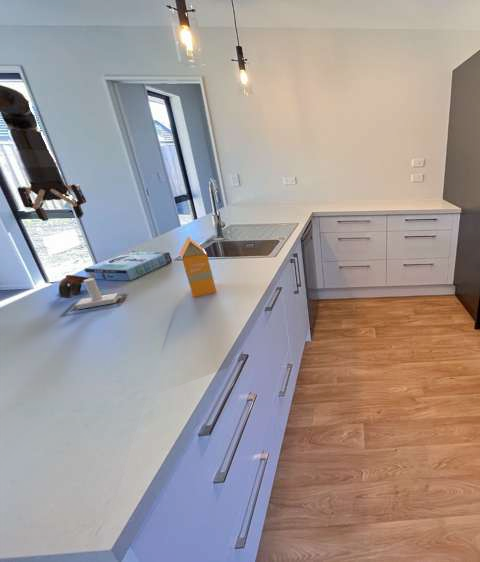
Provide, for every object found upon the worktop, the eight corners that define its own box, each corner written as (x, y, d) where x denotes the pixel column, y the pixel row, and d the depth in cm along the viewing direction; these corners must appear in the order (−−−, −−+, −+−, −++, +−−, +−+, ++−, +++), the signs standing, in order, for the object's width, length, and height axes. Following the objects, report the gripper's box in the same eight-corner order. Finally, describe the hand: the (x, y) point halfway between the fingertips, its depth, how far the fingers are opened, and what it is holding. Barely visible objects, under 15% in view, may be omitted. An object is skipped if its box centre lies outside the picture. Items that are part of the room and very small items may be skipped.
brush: (78, 312, 97) (65, 285, 93) (84, 305, 101) (72, 279, 97) (116, 305, 101) (105, 279, 97) (120, 299, 105) (110, 274, 101)
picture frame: (63, 319, 94) (63, 318, 94) (76, 305, 102) (76, 305, 102) (118, 309, 99) (118, 308, 99) (126, 297, 107) (126, 296, 107)
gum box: (83, 268, 121) (132, 250, 142) (88, 280, 123) (135, 260, 144) (126, 270, 119) (169, 251, 139) (130, 281, 121) (172, 261, 141)
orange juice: (213, 284, 116) (200, 233, 108) (217, 292, 110) (203, 239, 102) (190, 289, 112) (175, 237, 104) (192, 297, 106) (176, 243, 98)
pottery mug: (56, 296, 110) (61, 274, 111) (91, 299, 117) (95, 278, 118) (56, 297, 102) (61, 273, 103) (93, 300, 109) (98, 278, 110)
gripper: (-1, 167, 85) (27, 223, 91) (64, 165, 90) (86, 218, 97) (14, 166, 91) (40, 219, 98) (75, 164, 97) (95, 214, 103)
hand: (63, 219), depth 97 cm, fingers open, 8 cm apart
